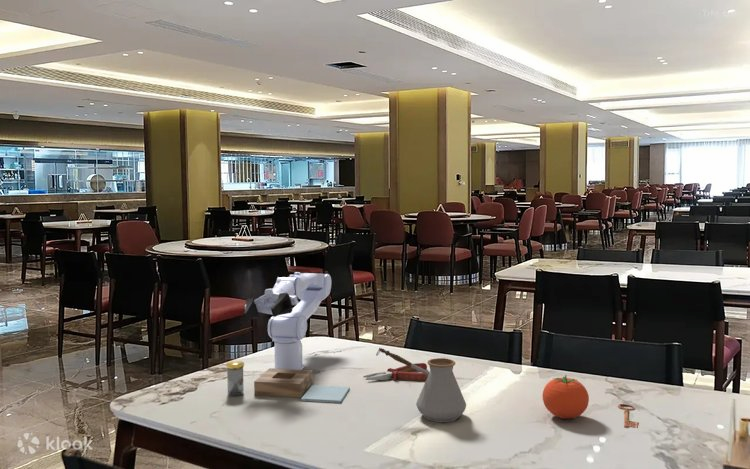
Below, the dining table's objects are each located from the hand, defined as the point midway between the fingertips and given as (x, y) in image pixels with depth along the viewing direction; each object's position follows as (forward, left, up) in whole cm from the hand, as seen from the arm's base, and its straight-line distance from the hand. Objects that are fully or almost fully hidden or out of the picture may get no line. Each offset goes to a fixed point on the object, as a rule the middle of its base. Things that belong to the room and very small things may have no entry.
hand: (259, 314), depth 167 cm
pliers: (-21, +34, -21) cm, 45 cm away
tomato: (+6, +75, -21) cm, 78 cm away
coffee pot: (+9, +42, -21) cm, 47 cm away
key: (+3, +90, -21) cm, 92 cm away
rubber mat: (-1, +17, -20) cm, 27 cm away
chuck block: (-4, +5, -20) cm, 21 cm away
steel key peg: (+2, -6, -20) cm, 21 cm away
